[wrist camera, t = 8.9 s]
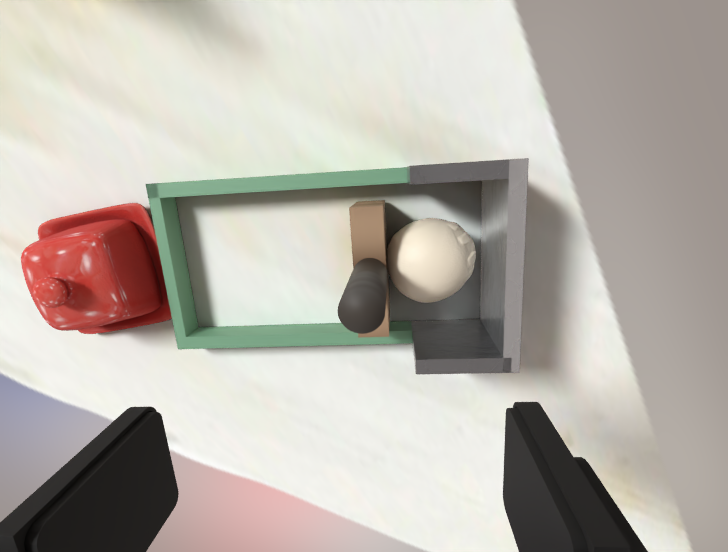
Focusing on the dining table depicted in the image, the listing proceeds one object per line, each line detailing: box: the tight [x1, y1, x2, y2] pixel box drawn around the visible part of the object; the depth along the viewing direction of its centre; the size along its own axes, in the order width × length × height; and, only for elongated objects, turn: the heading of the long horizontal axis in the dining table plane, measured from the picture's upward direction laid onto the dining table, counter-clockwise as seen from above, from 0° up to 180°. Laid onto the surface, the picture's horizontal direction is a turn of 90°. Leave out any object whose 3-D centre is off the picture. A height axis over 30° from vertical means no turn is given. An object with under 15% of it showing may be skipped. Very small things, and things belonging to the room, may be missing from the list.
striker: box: [338, 200, 390, 338], centre depth 28 cm, size 10×3×14 cm, turn 4°
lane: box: [146, 167, 412, 349], centre depth 35 cm, size 15×22×2 cm
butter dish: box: [21, 203, 172, 334], centre depth 34 cm, size 12×12×8 cm
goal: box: [407, 158, 529, 374], centre depth 31 cm, size 15×8×8 cm, turn 4°
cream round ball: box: [386, 218, 476, 303], centre depth 32 cm, size 7×7×7 cm
